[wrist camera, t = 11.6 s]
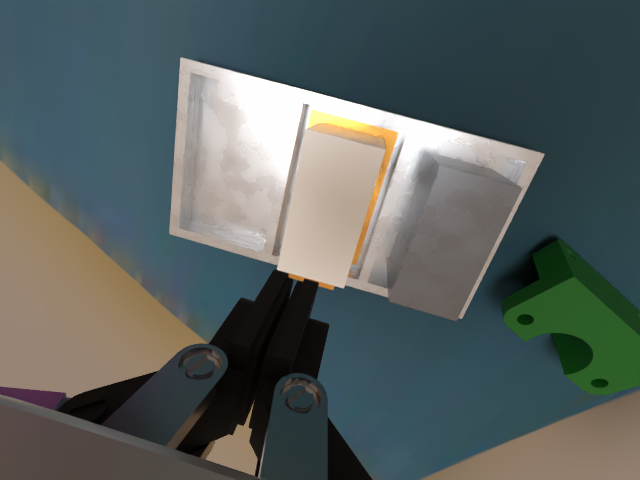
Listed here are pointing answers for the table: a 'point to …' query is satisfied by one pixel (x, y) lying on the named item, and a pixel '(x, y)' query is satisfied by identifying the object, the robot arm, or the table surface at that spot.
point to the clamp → (579, 321)
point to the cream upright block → (329, 202)
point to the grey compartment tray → (387, 199)
